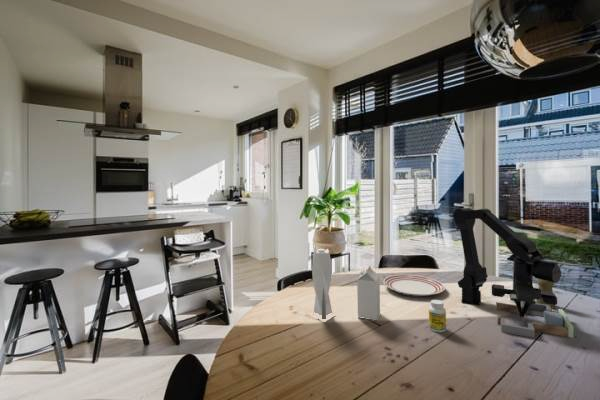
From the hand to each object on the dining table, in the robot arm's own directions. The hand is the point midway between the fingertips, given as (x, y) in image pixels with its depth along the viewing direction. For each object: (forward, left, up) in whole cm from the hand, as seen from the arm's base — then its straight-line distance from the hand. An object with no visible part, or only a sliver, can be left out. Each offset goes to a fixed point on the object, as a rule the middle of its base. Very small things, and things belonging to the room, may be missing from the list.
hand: (521, 317), depth 110 cm
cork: (+9, +20, -1) cm, 22 cm away
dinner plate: (-41, +16, -2) cm, 44 cm away
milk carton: (-50, -22, -1) cm, 54 cm away
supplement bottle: (-26, -21, -1) cm, 33 cm away
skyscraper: (-66, -30, -2) cm, 72 cm away
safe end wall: (+12, 0, -1) cm, 12 cm away
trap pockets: (+2, 0, -1) cm, 3 cm away
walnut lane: (+2, 0, -1) cm, 3 cm away
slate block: (+9, 0, -1) cm, 9 cm away
